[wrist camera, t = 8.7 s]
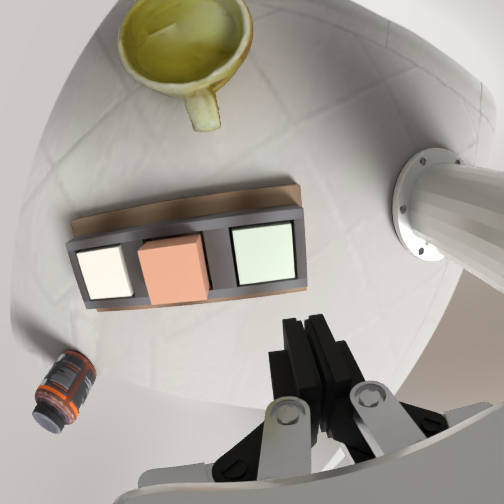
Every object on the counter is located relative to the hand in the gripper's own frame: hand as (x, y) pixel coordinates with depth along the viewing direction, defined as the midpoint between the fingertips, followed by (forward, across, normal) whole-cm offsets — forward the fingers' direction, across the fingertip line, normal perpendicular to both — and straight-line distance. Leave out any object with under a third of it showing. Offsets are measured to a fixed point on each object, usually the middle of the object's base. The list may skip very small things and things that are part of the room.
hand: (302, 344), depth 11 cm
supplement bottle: (+15, +27, +14) cm, 34 cm away
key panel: (+15, +8, 0) cm, 17 cm away
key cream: (+14, +15, 0) cm, 21 cm away
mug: (+16, +5, -16) cm, 23 cm away
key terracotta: (+12, +8, 0) cm, 14 cm away
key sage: (+14, +1, 0) cm, 14 cm away
